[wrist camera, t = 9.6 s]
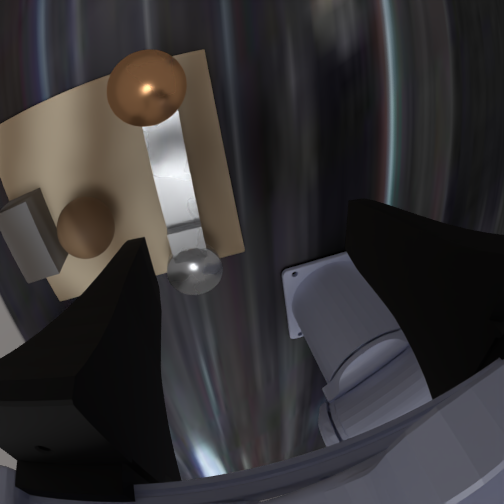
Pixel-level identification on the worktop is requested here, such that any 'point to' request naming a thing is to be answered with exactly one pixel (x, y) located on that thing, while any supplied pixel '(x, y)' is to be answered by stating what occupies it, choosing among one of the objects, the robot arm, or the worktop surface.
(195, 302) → the worktop surface
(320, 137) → the worktop surface
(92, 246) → the brown ball
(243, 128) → the worktop surface
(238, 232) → the beige square panel
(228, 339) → the worktop surface
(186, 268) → the lever
